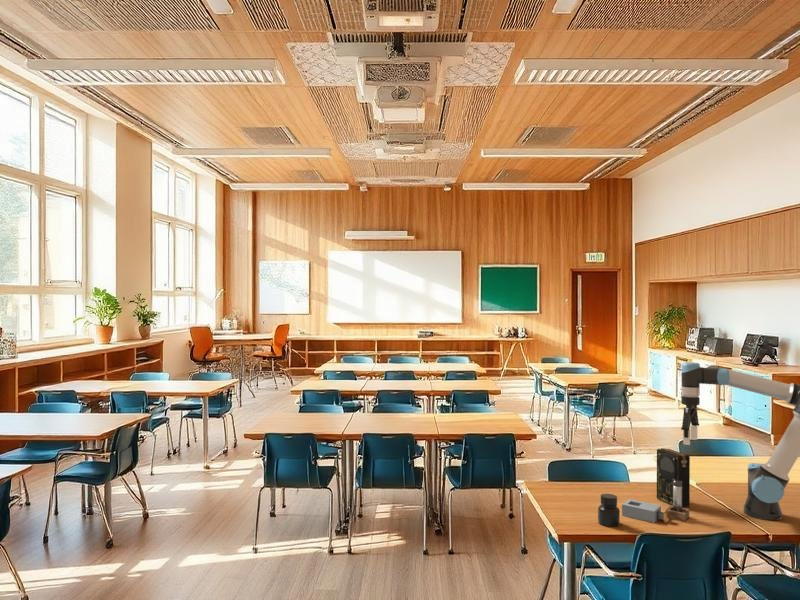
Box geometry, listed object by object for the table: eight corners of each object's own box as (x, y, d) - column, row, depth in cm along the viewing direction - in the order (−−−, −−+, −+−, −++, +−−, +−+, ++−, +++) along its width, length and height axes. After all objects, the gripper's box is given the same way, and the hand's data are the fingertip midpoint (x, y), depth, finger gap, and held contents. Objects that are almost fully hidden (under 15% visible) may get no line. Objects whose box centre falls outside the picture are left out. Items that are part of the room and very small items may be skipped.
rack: (689, 517, 265) (689, 509, 265) (684, 522, 258) (684, 514, 258) (670, 513, 270) (670, 505, 270) (665, 517, 264) (665, 510, 264)
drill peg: (682, 516, 264) (683, 480, 265) (680, 518, 261) (680, 482, 262) (674, 514, 267) (674, 479, 267) (671, 516, 264) (672, 481, 264)
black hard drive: (654, 498, 290) (654, 448, 291) (668, 497, 293) (668, 447, 293) (677, 509, 275) (677, 455, 276) (692, 507, 278) (692, 454, 278)
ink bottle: (615, 519, 260) (615, 492, 260) (623, 527, 251) (624, 499, 252) (594, 519, 260) (594, 492, 260) (601, 527, 251) (601, 499, 251)
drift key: (669, 520, 260) (669, 511, 260) (666, 522, 257) (666, 513, 257) (648, 515, 265) (648, 506, 266) (645, 518, 262) (645, 509, 262)
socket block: (660, 516, 265) (660, 505, 265) (654, 522, 257) (654, 511, 257) (629, 509, 274) (629, 499, 274) (621, 515, 266) (622, 504, 266)
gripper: (688, 392, 283) (688, 436, 282) (674, 398, 264) (674, 445, 263) (705, 393, 278) (705, 438, 278) (692, 399, 259) (692, 448, 258)
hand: (690, 442), depth 270 cm, fingers open, 13 cm apart
